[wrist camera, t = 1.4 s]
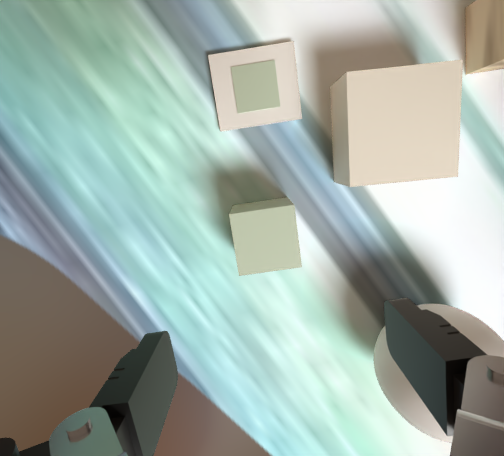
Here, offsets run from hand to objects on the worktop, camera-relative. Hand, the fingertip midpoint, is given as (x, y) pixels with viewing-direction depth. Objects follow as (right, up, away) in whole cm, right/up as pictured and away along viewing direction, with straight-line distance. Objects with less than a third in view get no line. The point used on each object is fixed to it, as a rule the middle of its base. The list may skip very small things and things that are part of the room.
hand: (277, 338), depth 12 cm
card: (-1, +16, +15) cm, 22 cm away
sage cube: (0, +4, +18) cm, 18 cm away
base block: (+10, +12, +16) cm, 23 cm away
